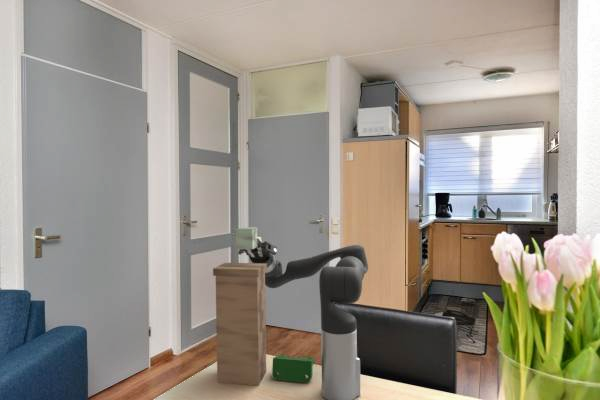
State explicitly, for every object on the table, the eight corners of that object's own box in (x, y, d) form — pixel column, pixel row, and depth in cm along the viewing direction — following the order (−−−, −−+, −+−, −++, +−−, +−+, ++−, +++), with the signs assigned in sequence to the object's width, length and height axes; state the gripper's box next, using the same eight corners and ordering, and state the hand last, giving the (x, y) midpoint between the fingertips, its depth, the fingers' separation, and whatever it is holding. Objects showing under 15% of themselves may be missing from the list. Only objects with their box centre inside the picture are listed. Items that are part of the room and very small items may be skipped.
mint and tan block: (250, 242, 128) (250, 224, 128) (265, 243, 127) (264, 224, 127) (236, 249, 114) (236, 228, 114) (252, 249, 113) (252, 228, 113)
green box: (307, 390, 111) (320, 360, 112) (303, 395, 105) (317, 364, 106) (271, 369, 115) (284, 340, 116) (265, 373, 109) (279, 343, 110)
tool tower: (226, 368, 116) (224, 262, 115) (268, 371, 114) (266, 263, 113) (214, 382, 107) (213, 268, 107) (260, 386, 105) (258, 269, 104)
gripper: (245, 248, 137) (230, 228, 122) (283, 249, 134) (273, 228, 119) (242, 269, 133) (226, 250, 118) (281, 269, 131) (270, 251, 116)
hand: (250, 239), depth 119 cm, fingers closed on mint and tan block, 2 cm apart
